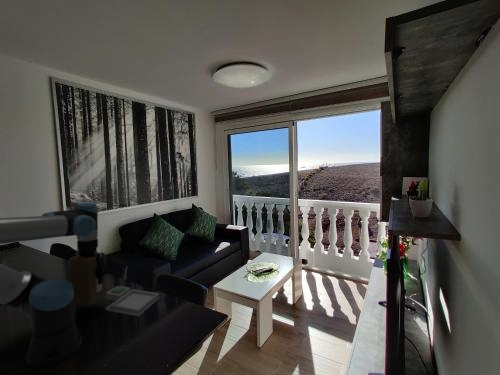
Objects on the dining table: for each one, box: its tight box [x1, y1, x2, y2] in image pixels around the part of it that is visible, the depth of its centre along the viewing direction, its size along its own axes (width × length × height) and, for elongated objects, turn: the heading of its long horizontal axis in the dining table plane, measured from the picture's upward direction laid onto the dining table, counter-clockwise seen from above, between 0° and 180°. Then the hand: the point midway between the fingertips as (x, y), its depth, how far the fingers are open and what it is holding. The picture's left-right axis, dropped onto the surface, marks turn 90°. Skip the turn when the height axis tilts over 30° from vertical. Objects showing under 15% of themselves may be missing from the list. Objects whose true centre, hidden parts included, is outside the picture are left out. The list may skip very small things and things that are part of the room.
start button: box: [113, 285, 124, 294], centre depth 123 cm, size 4×4×3 cm
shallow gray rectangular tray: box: [105, 288, 160, 317], centre depth 116 cm, size 15×17×3 cm
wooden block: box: [68, 252, 107, 307], centre depth 108 cm, size 10×10×20 cm
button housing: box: [104, 285, 132, 302], centre depth 123 cm, size 8×8×3 cm
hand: (88, 289), depth 109 cm, fingers closed on wooden block, 10 cm apart
